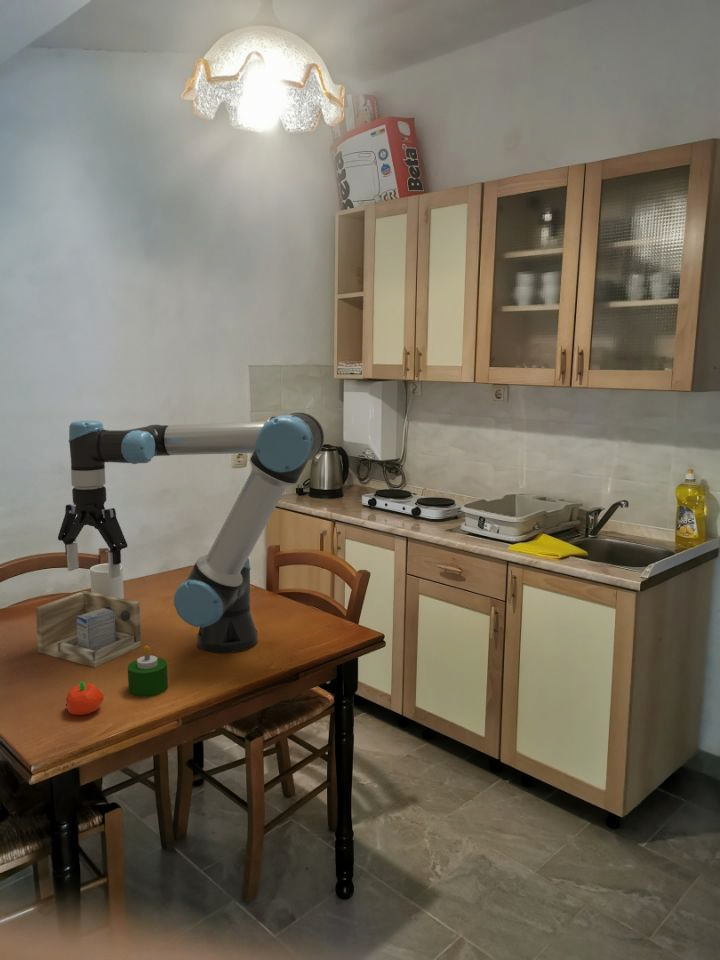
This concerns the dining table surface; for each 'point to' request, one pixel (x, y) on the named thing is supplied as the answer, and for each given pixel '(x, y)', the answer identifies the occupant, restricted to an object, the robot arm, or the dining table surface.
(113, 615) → the medicine box
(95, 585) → the cup
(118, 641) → the wooden rack
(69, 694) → the tomato
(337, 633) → the dining table surface
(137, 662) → the candle
